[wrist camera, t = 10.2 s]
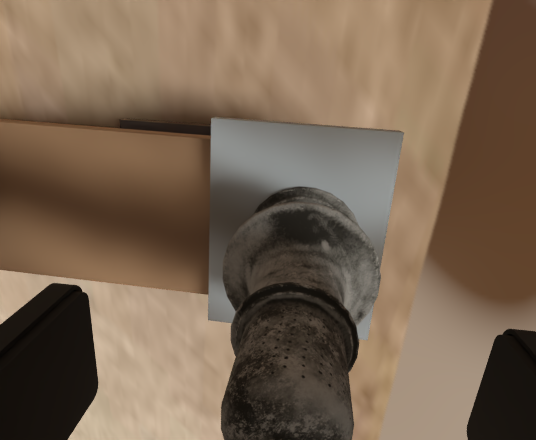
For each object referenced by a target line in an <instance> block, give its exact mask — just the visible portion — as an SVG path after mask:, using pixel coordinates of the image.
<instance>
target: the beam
mask: <svg viewBox="0 0 536 440" xmlns="http://www.w3.org/2000/svg"><path fill="white" fill-rule="evenodd" d="M403 135H404V133H403V132H401V131H396V130H383V129H370V128H357V127H343V126H330V125H317V124H304V123H291V122H277V121H264V120H251V119H238V118H224V117H213V118H211V136H208V135H196V134H183V133H171V132H158V131H146V130H133V129H121V128H108V127H96V126H84V125H71V124H59V123H46V122H34V121H21V120H9V119H0V270H7V271H15V272H24V273H32V274H40V275H49V276H57V277H66V278H74V279H82V280H91V281H99V282H108V283H116V284H124V285H133V286H141V287H149V288H158V289H166V290H175V291H183V292H191V293H200V294H208V295H209V296H208V320H211V321H219V322H227V323H232V322H233V319H234V316H235V313H236V311H235V309H234V308H233V306H232V304H231V303H230V301H229V299H228V297H227V294H226V291H225V287H224V283H223V279H222V278H223V259H224V256H225V253H226V249H227V246H228V243H229V242H230V240H231V239H232V237H233V236H234V234H235V233H236V231H237V230H238V228H239V227H240V226H241V225H242V224H243V223H244V222H246V221H247V220H248V219H249V218H250V217H251V216H252V215H253V213H254V212H255V211H256V209H257V208H258V206H259V205H260V204H261V203H262V202H264V201H265V200H266V199H267V198H268V197H270V196H271V195H273V194H275V193H277V192H280V191H282V190H284V189H289V188H294V187H312V188H318V189H320V190H323V191H326V192H329V193H331V194H333V195H334V196H336V197H337V198H339V199H340V200H342V201H343V202H344V203H345V204H346V205H347V206H348V208H349V209H350V210H351V211H352V212H353V213H354V216H355V218H356V220H357V222H358V224H359V227H360V228H361V229H362V230H363V231H364V233H365V234H366V235H367V236H368V237H369V238H370V241H371V243H372V245H373V247H374V249H375V252H376V254H377V256H378V260H379V267H380V266H381V260H382V255H383V249H384V243H385V238H386V232H387V226H388V220H389V215H390V209H391V203H392V198H393V192H394V186H395V181H396V175H397V169H398V163H399V158H400V152H401V146H402V141H403ZM373 306H374V304H373ZM373 306H372V308H371V310H370V312H369V314H368V315H367V316H366V317H365V318H364V319H363V320H362V321H361V322H360V324H359V325H358V326H357V333H358V339H362V340H368V334H369V329H370V323H371V317H372V312H373Z"/></svg>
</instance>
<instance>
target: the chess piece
mask: <svg viewBox="0 0 536 440" xmlns="http://www.w3.org/2000/svg"><path fill="white" fill-rule="evenodd" d="M222 279H223V283H224V287H225V291H226V294H227V297H228V299H229V301H230V303H231V304H232V306H233V308H234V309H235V311H236V313H235V316H234V319H233V322H232V325H231V343H232V347H233V350H234V354H235V356H236V358H235V362H234V365H233V368H232V372H231V375H230V378H229V381H228V385H227V388H226V391H225V395H224V398H223V401H222V406H221V430H222V433H223V437H224V440H352V434H353V427H354V421H353V412H352V403H351V394H350V384H349V375H348V373H349V372H350V371H351V369H352V367H353V365H354V363H355V361H356V359H357V355H358V348H359V339H358V333H357V326H358V325H359V324H360V322H361V321H362V320H363V319H364V318H365V317H366V316H367V315H368V314H369V312H370V310H371V308H372V306H373V304H374V302H375V300H376V298H377V296H378V291H379V285H380V279H381V275H380V267H379V260H378V256H377V254H376V252H375V249H374V247H373V245H372V243H371V241H370V238H369V237H368V236H367V235H366V234H365V233H364V231H363V230H362V229H361V228H360V227H359V224H358V222H357V220H356V218H355V216H354V213H353V212H352V211H351V210H350V209H349V208H348V206H347V205H346V204H345V203H344V202H343V201H342V200H340V199H339V198H337V197H336V196H334V195H333V194H331V193H329V192H326V191H323V190H320V189H318V188H312V187H294V188H289V189H284V190H282V191H280V192H277V193H275V194H273V195H271V196H270V197H268V198H267V199H266V200H265V201H264V202H262V203H261V204H260V205H259V206H258V208H257V209H256V211H255V212H254V213H253V215H252V216H251V217H250V218H249V219H248V220H247V221H246V222H244V223H243V224H242V225H241V226H240V227H239V228H238V230H237V231H236V233H235V234H234V236H233V237H232V239H231V240H230V242H229V243H228V246H227V249H226V253H225V256H224V259H223V278H222Z"/></svg>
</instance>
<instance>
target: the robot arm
mask: <svg viewBox="0 0 536 440" xmlns="http://www.w3.org/2000/svg"><path fill="white" fill-rule="evenodd" d="M97 389H98V376H97V367H96V359H95V350H94V341H93V333H92V324H91V315H90V307H89V298H88V295H87V294H86V293H85V292H82V289H81V288H80V287H79V286H77V285H68V284H58V283H52V284H51V285H49V286H47V287H46V288H45V289H44V290H43V291H41V292H40V293H39V294H38V295H36V296H35V297H34V298H33V299H31V300H30V301H29V302H28V303H27V304H25V305H24V306H23V307H22V308H20V309H19V310H18V311H17V312H15V313H14V314H13V315H12V316H11V317H9V318H8V319H7V320H6V321H4V322H3V323H2V324H1V325H0V440H67V439H68V438H69V436H70V435H71V433H72V432H73V430H74V429H75V427H76V426H77V424H78V423H79V421H80V420H81V418H82V416H83V415H84V413H85V412H86V410H87V409H88V407H89V406H90V404H91V403H92V401H93V400H94V398H95V396H96V393H97ZM467 437H468V440H536V332H535V331H526V330H516V329H508V330H506V331H505V332H504V333H503V335H498V336H497V337H496V338H495V340H494V343H493V346H492V350H491V353H490V356H489V359H488V362H487V365H486V369H485V372H484V375H483V378H482V381H481V384H480V387H479V390H478V393H477V396H476V400H475V403H474V406H473V409H472V412H471V415H470V418H469V422H468V425H467Z"/></svg>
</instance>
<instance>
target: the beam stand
mask: <svg viewBox="0 0 536 440" xmlns="http://www.w3.org/2000/svg"><path fill="white" fill-rule="evenodd" d="M120 128H121V129H133V130H146V131H158V132H171V133H183V134H196V135H208V136H211V125H208V124H195V123H181V122H168V121H155V120H141V119H128V118H127V119H121V120H120Z"/></svg>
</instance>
